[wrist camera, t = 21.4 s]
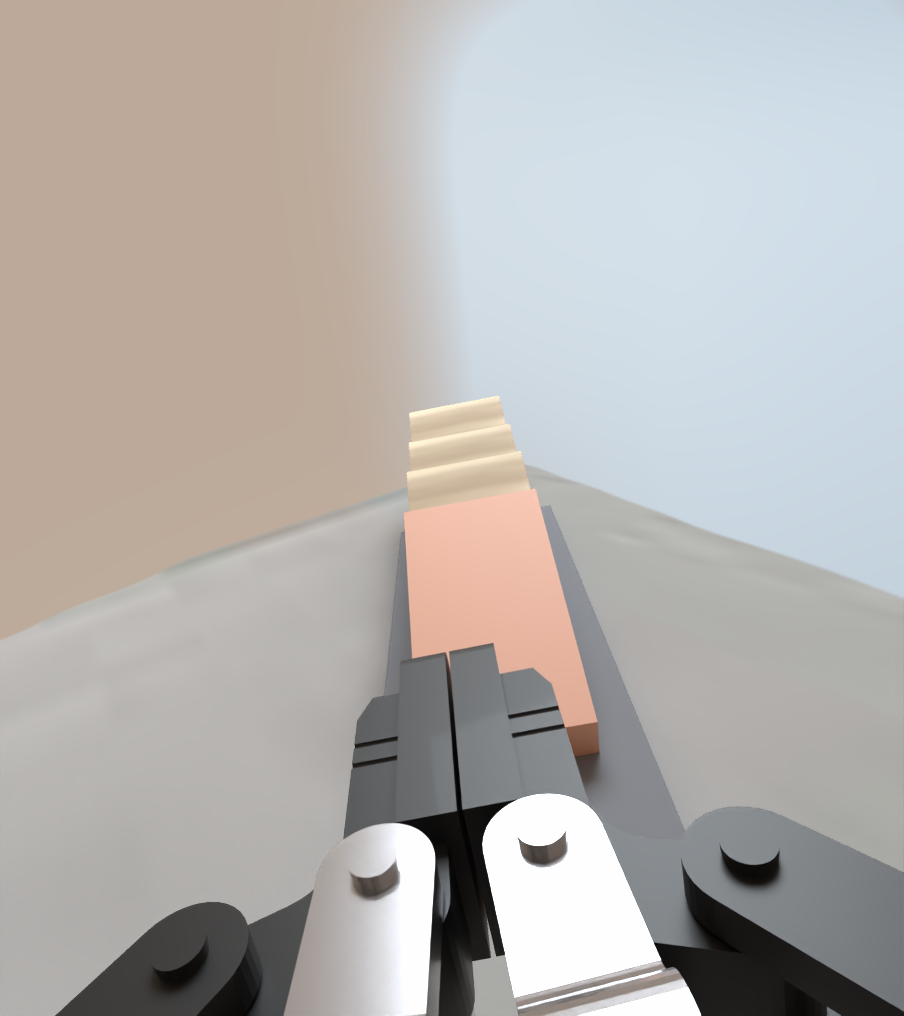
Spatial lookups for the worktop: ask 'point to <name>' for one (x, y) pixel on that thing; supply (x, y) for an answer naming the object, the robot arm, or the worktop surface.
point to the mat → (622, 742)
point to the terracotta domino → (497, 597)
